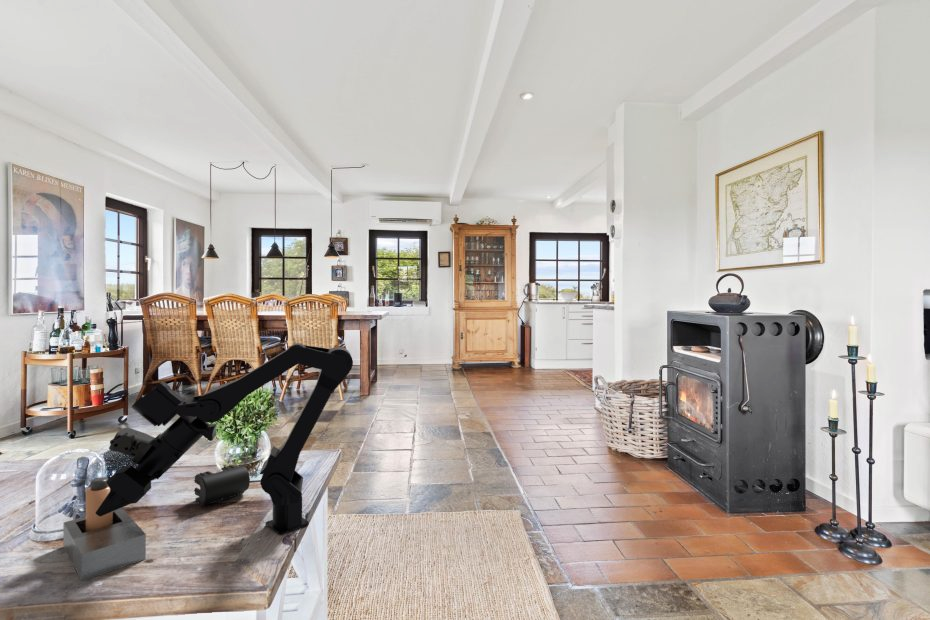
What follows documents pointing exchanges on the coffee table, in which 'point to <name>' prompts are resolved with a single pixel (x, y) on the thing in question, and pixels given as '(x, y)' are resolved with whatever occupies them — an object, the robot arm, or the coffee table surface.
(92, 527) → the plug
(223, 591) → the coffee table surface
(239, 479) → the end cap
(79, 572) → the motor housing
